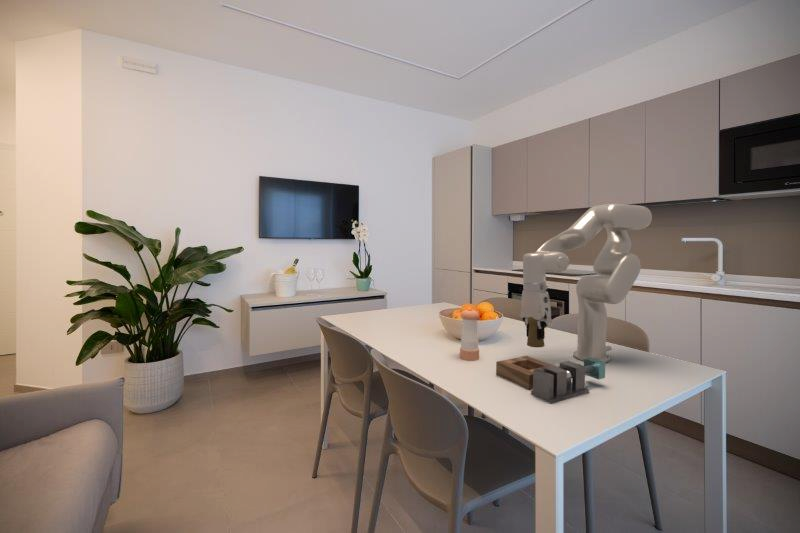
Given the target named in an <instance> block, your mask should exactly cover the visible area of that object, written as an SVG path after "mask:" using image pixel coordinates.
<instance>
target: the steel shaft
mask: <svg viewBox="0 0 800 533" xmlns="http://www.w3.org/2000/svg"><path fill="white" fill-rule="evenodd" d="M606 363H607V362H604V361H601V360H598V359H594V358H591V357H590V358H585V359H584V361H583V366H585V376H587V377H589V378H593V379H596V380H603V379H605V378H606ZM567 379H571V380H572V371H570V370H567Z"/></svg>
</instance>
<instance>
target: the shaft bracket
mask: <svg viewBox="0 0 800 533" xmlns="http://www.w3.org/2000/svg"><path fill="white" fill-rule="evenodd" d="M558 364H559V365H558V367H559V368H558V367H555V366H556V365H555V366H552V365H553V364H552V365H547V366H543V367H541V370H539V369H535V370H533V389H531V390H530V395H531V396H534V397H535V398H538V399H540V400H542V401H544V402H546V403H549V404H552V405H553V404H555V403H558V402H561V401H565V400H569V399H572V398H574V397H575V398H576V397H579V396H581V395H585V394H590V389H589V388H587V387H586V386H585V385H586V383H585V382H586V375H585V366H584V364H579V363H577V362H573V361H570V360H566V361H562V362H559V363H558ZM567 370H570V371H572V378H571V379H567Z"/></svg>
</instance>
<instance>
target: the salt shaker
mask: <svg viewBox="0 0 800 533" xmlns="http://www.w3.org/2000/svg"><path fill="white" fill-rule="evenodd" d="M460 318H461V319H462V331H461V337H460V348H459V358H460V359H462V360H465V361H478V360H479V359H480V348H479V335H478V334H479V333H478V320H479V318H480V314H479V312H478V310H477V311H476V310H474V309H473V308H471V307H469V308H467V309H465V310H463V311H461V313H460Z"/></svg>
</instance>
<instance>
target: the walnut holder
mask: <svg viewBox="0 0 800 533" xmlns="http://www.w3.org/2000/svg"><path fill="white" fill-rule="evenodd" d="M547 365H552V366H555V367H558V368H559V365H554V364H552V363H549V362H546V361H543V360H540V359H537V358H534V357H531V356H529V355H523V356H519V357H518V356H517V357H513V358H509V359H504V360H503V359H502V360H498V361H496V365H495V366H496V368H495V371H496V372H495V375H496V376H498V377H499V378H502V379H504V380H506V381H509V382H510V383H513V384H515V385H517V386H520V387H522V388H524V389H527V390H528V391H532V390H533V370H535V369H539V370H541V367H543V366H547Z"/></svg>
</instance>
